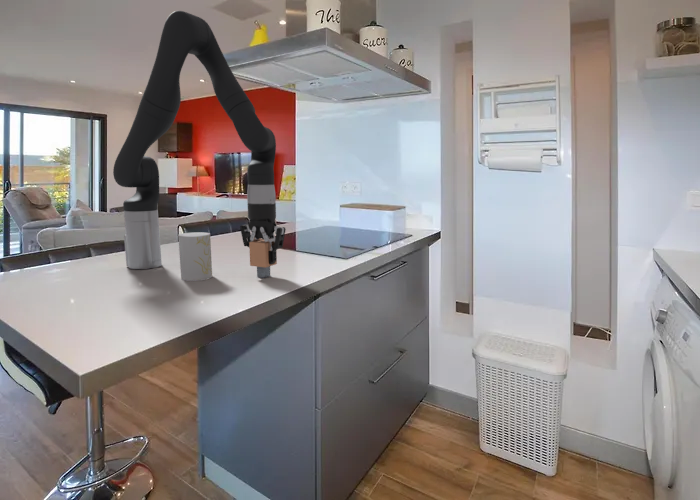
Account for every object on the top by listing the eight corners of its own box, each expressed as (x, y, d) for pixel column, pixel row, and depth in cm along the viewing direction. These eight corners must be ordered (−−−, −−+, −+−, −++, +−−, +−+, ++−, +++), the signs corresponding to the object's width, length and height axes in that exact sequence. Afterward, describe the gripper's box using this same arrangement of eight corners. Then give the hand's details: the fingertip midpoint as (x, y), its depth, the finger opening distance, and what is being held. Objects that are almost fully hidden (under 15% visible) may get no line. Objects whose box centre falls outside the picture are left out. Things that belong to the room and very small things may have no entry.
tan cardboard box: (250, 265, 116) (249, 242, 115) (261, 262, 121) (261, 239, 120) (265, 267, 114) (264, 243, 113) (276, 264, 119) (276, 240, 118)
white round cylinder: (202, 281, 112) (199, 237, 110) (174, 279, 114) (172, 235, 112) (217, 274, 120) (215, 232, 118) (191, 273, 122) (189, 231, 120)
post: (257, 277, 118) (256, 252, 116) (262, 275, 120) (262, 250, 119) (264, 278, 117) (264, 253, 115) (270, 276, 119) (269, 251, 118)
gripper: (231, 201, 114) (234, 263, 117) (275, 203, 108) (277, 268, 111) (249, 200, 121) (251, 258, 124) (291, 201, 115) (292, 262, 118)
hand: (263, 262), depth 118 cm, fingers closed on tan cardboard box, 5 cm apart
